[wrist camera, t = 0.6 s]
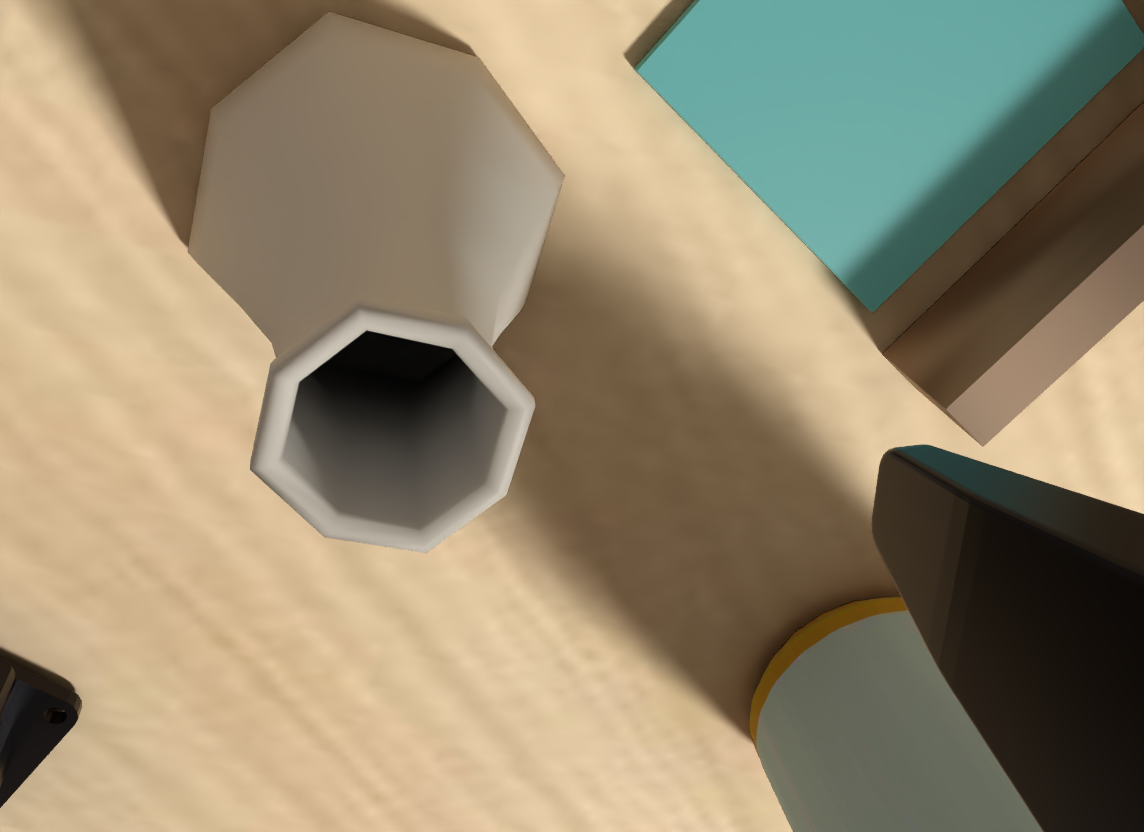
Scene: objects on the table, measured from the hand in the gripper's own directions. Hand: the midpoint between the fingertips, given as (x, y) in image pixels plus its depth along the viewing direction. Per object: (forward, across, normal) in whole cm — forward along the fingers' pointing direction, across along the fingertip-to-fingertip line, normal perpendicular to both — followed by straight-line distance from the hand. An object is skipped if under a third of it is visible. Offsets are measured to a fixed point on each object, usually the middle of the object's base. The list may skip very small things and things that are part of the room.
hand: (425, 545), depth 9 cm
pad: (+12, -11, -2) cm, 17 cm away
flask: (+13, 0, 0) cm, 13 cm away
